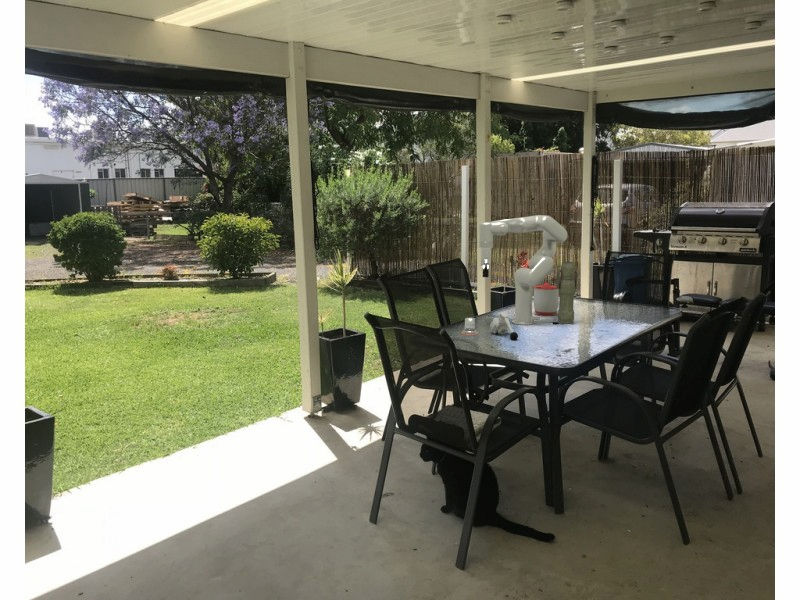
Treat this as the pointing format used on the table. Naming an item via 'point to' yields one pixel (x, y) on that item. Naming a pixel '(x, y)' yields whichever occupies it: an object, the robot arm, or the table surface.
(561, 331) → the table surface
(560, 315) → the stone statue
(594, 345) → the table surface
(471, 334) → the gasket pad
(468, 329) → the pipe coupling
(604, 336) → the table surface
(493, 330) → the mechanical valve
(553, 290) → the citrus juicer
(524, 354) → the table surface
